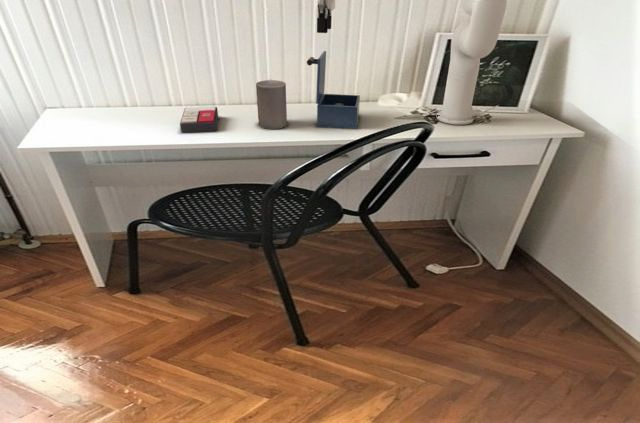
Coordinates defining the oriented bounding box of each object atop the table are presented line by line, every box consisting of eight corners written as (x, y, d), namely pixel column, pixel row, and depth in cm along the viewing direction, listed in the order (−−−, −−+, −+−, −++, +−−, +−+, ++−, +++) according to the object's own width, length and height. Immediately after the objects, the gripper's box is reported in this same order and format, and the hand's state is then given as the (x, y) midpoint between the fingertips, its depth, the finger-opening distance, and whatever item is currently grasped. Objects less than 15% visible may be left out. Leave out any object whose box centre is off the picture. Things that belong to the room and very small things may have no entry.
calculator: (179, 121, 128) (184, 105, 140) (181, 134, 130) (186, 117, 143) (214, 120, 130) (216, 104, 142) (216, 133, 132) (218, 116, 144)
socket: (343, 117, 143) (344, 103, 140) (342, 120, 140) (343, 105, 137) (334, 117, 143) (334, 102, 140) (333, 120, 140) (333, 105, 138)
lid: (326, 51, 138) (311, 50, 138) (320, 59, 125) (304, 57, 126) (324, 92, 145) (310, 91, 145) (318, 103, 132) (303, 102, 133)
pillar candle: (252, 125, 137) (248, 79, 129) (272, 118, 144) (270, 74, 136) (273, 131, 132) (271, 84, 124) (293, 123, 139) (292, 78, 131)
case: (358, 115, 147) (359, 95, 143) (356, 129, 135) (357, 107, 131) (322, 113, 149) (323, 93, 145) (317, 126, 136) (317, 105, 133)
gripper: (335, -33, 111) (333, 35, 120) (341, -33, 126) (338, 28, 135) (308, -34, 112) (307, 34, 121) (317, -33, 127) (316, 27, 135)
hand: (324, 30), depth 128 cm, fingers open, 9 cm apart
